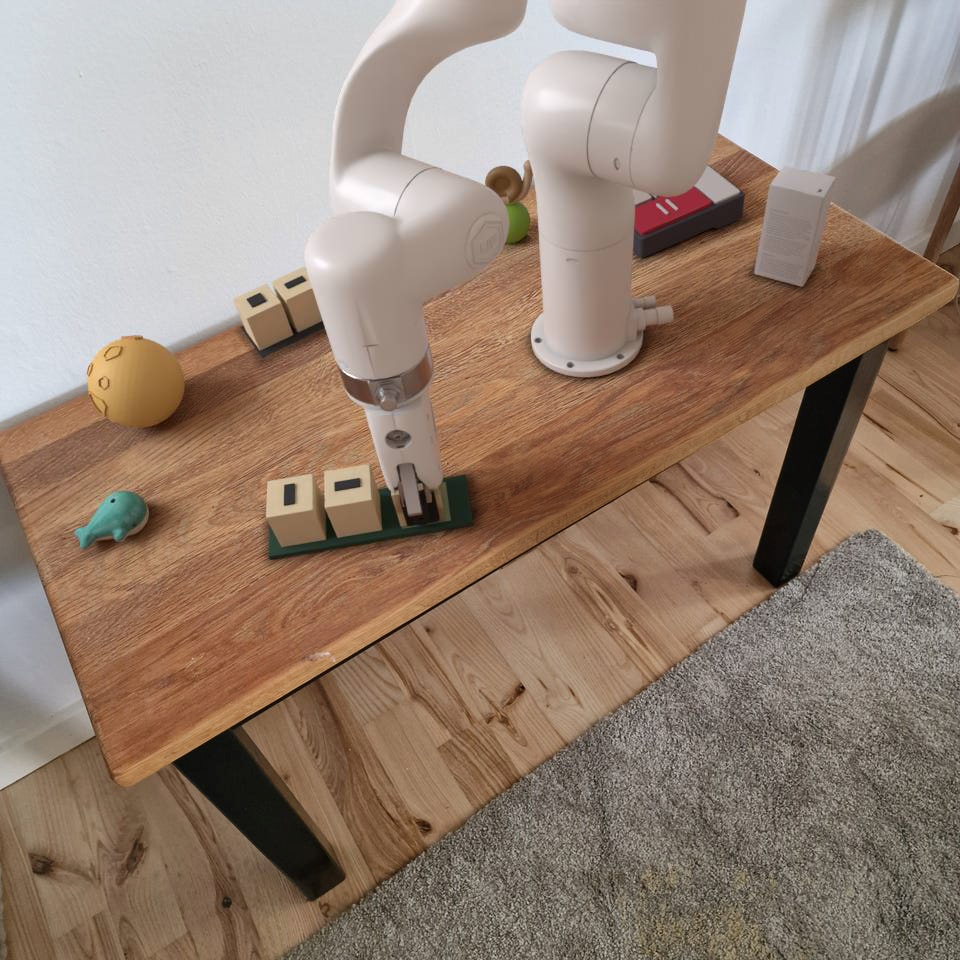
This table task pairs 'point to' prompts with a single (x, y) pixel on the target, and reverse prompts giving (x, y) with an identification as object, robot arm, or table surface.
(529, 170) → the snail figurine
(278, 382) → the table surface
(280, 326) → the far word mat
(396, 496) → the tile
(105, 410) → the stress ball
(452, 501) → the mat
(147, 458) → the table surface
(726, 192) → the calculator
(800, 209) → the cosmetic box
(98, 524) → the whale figurine
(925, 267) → the table surface
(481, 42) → the robot arm
